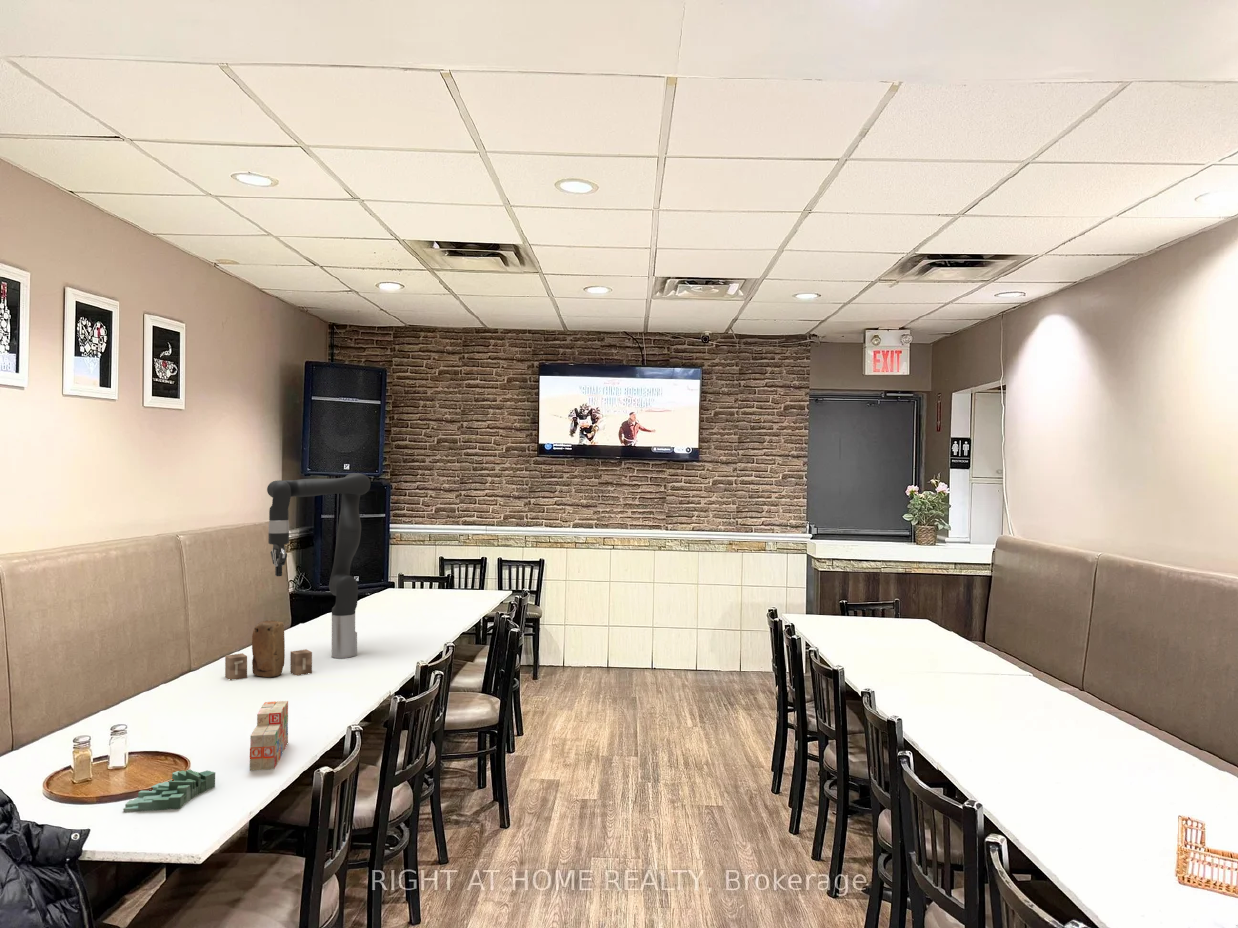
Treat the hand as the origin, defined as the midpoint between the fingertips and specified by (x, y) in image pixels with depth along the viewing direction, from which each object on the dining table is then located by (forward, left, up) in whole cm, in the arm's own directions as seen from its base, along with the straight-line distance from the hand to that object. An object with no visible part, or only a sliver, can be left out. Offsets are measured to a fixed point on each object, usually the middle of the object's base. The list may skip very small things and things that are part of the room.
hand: (278, 575), depth 330 cm
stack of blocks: (+35, +102, -35) cm, 114 cm away
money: (+60, +115, -36) cm, 134 cm away
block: (+8, +13, -35) cm, 38 cm away
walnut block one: (-3, +17, -35) cm, 39 cm away
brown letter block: (+18, +9, -35) cm, 40 cm away
